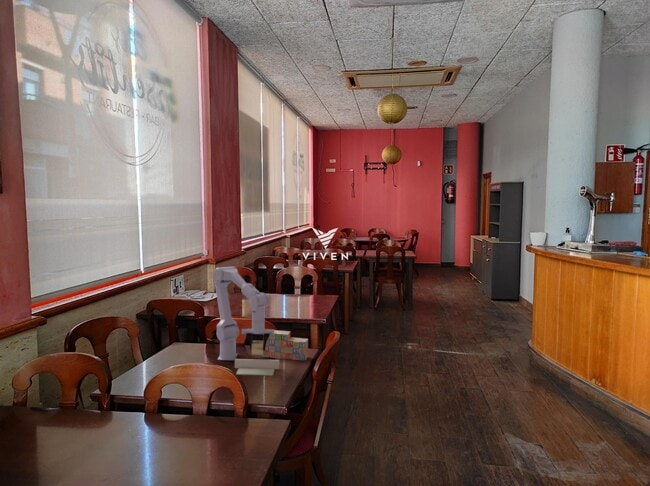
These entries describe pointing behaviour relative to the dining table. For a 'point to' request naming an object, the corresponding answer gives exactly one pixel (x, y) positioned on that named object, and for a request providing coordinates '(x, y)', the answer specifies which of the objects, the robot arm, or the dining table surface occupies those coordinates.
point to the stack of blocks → (286, 346)
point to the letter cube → (257, 347)
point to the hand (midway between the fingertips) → (257, 349)
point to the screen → (257, 363)
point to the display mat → (255, 371)
